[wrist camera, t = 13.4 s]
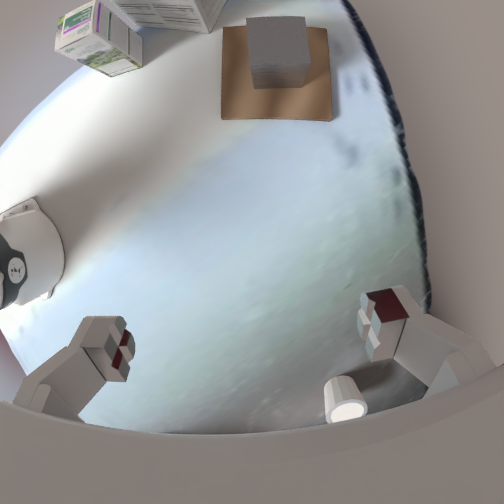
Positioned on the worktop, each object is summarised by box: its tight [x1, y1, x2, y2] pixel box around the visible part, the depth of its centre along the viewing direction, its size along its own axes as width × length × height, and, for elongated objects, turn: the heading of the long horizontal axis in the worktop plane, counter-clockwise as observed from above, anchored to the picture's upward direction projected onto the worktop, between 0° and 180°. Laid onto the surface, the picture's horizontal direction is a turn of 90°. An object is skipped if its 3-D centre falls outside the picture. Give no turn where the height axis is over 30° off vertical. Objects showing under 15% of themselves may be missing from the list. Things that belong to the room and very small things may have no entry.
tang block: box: [221, 26, 332, 122], centre depth 30 cm, size 14×14×6 cm
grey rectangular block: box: [246, 16, 311, 89], centre depth 27 cm, size 6×6×9 cm
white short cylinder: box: [324, 375, 367, 424], centre depth 42 cm, size 7×7×7 cm
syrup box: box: [55, 0, 143, 77], centre depth 26 cm, size 6×6×14 cm
